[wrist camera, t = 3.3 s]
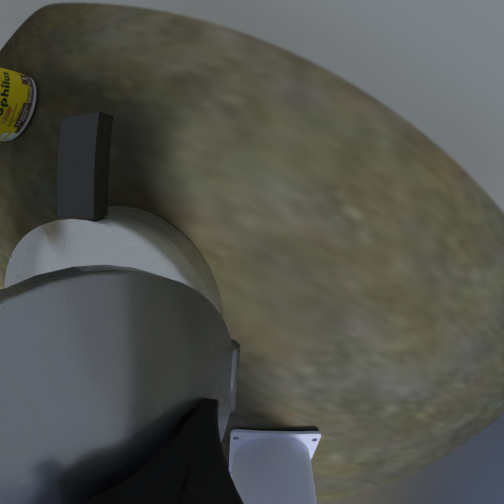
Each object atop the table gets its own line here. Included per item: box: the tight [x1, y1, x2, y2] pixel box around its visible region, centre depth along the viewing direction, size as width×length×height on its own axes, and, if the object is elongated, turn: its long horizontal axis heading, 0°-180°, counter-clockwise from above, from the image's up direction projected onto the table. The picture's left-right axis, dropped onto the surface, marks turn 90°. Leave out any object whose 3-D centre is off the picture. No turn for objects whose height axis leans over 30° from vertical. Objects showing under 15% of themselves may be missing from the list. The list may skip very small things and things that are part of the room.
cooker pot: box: [4, 112, 223, 319], centre depth 15 cm, size 19×14×6 cm
